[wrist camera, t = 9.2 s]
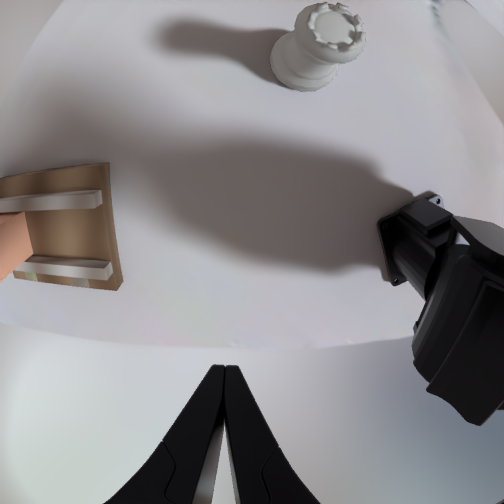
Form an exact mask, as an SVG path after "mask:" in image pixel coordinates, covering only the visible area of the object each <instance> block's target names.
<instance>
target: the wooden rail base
mask: <svg viewBox="0 0 504 504" xmlns="http://www.w3.org/2000/svg"><path fill="white" fill-rule="evenodd" d="M19 211H24V212H25V217H26V222H27V227H28V232H29V237H30V241H31V245H32V249H33V253H34V254H33V255H31V256H30V257H29V258H28V259H26V260H25V261H24V262H23V263H22V264H20V265H19V266H18V267H17V268H16V269H15V270H14V271H13V274H14V277H15V278H18V279H24V280H31V281H38V282H45V283H52V284H60V285H68V286H76V287H85V288H94V289H104V290H114V291H117V290H118V288H119V287H120V285H121V284H122V282H123V277H122V272H121V266H120V261H119V255H118V248H117V242H116V235H115V227H114V219H113V210H112V200H111V189H110V175H109V163H100V164H90V165H80V166H71V167H63V168H55V169H48V170H41V171H35V172H29V173H23V174H18V175H12V176H7V177H3V178H0V215H1V214H3V213H4V212H19Z"/></svg>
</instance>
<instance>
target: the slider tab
mask: <svg viewBox="0 0 504 504" xmlns="http://www.w3.org/2000/svg"><path fill="white" fill-rule="evenodd" d="M33 254H34V253H33V249H32V245H31V241H30V237H29V232H28V227H27V222H26V217H25V212H24V211H19V212H4V213H3V214H1V215H0V282H1V281H2V280H3V279H4V278H6V277H7V276H8V275H9V274H10V273H11V272H12V271H14V270H15V269H16V268H17V267H18V266H19V265H20V264H22V263H23V262H24V261H25V260H26V259H28V258H29V257H30V256H31V255H33Z"/></svg>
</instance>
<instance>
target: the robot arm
mask: <svg viewBox="0 0 504 504" xmlns="http://www.w3.org/2000/svg"><path fill="white" fill-rule="evenodd" d="M437 199H438V201H437V203H436V200H437ZM384 223H385V226H384V227H382V225H383V224H384ZM377 228H378V232H379V236H380V240H381V244H382V248H383V252H384V257H385V261H386V266H387V270H388V275H389V280H390V283H391V284H392V285H393V286H398V285H400V284H402V283H404V282H406V281H409V282H410V284H411V285H412V286H413V287H414V288H415V290H416V291H417V292H418V293H419V294H420V296H421V297H422V298H423V299H424V301H425V302H426V303H425V305H424V307H423V310H422V312H421V314H420V317H419V319H418V321H416V323H415V325H414V327H413V329H414V337H413V342H412V350H413V355H414V358H415V359H414V360H413V364H414V366H415V367H416V369H417V371H418V372H419V373H420V375H421V376H422V377H423V378H424V379H425V380H426V381H427V382H429V383H430V384H429V385H428V387H427V388H426V391H427V392H429V393H431V394H433V395H436V396H438V397H440V398H442V399H443V400H445V401H446V402H448V403H450V404H451V405H452V406H453V407H454V408H455V409H456V410H457V411H458V413H460V415H461V416H462V417H463V418H464V419H465V420H466V421H467V422H469V423H472V424H475V425H477V426H481V425H482V424H483V423H485V422H486V420H487V419H488V418H489V417H490V416H491V415H492V414H493V413H494V412H495V411H496V410H504V229H503V228H501V227H500V226H498V225H496V224H494V223H491V222H486V221H481V220H476V219H471V218H465V217H460V216H454V215H453V214H452V213H450V212H448V211H447V210H445V209H444V205H443V199H442V197H441V196H439V195H437V194H435V195H433V196H431V197H428V198H426V199H425V198H422V199H420V200H418V201H415V202H413V203H411V204H409V205H407V206H404V207H402V208H400V210H399V211H398V212H395V213H393V214H391V215H389V216H386V217H384V218H382V219H380V220H379V221H378V223H377ZM395 279H397V280H396V281H395ZM224 425H225V430H226V438H227V446H228V454H229V460H230V468H231V475H232V482H233V488H234V495H235V500H236V504H320V502H319V501H318V500H317V499H316V498H315V497H314V496H313V494H312V493H311V492H310V491H309V489H308V488H307V487H306V486H305V485H304V484H303V482H302V481H301V480H300V478H299V477H298V476H297V474H296V473H295V471H294V470H293V469H292V467H291V465H290V464H289V462H288V461H287V459H286V458H285V456H284V454H283V452H282V450H281V448H280V447H279V445H278V443H277V441H276V439H275V437H274V436H273V434H272V432H271V430H270V428H269V426H268V424H267V422H266V420H265V418H264V416H263V415H262V413H261V411H260V409H259V407H258V405H257V403H256V401H255V399H254V397H253V395H252V393H251V391H250V389H249V387H248V384H247V382H246V380H245V378H244V377H243V374H242V372H241V370H240V368H239V366H237V365H227V366H226V367H225V366H224V365H216V364H214V365H212V366H211V367H210V369H209V371H208V372H207V374H206V375H205V377H204V378H203V380H202V381H201V383H200V384H199V386H198V387H197V389H196V390H195V392H194V394H193V395H192V396H191V398H190V399H189V401H188V402H187V404H186V405H185V407H184V408H183V410H182V411H181V413H180V414H179V416H178V417H177V419H176V420H175V422H174V423H173V425H172V426H171V428H170V429H169V431H168V432H167V434H166V435H165V436H164V438H163V439H162V440H163V441H161V442H160V444H159V445H158V446H157V448H156V449H155V451H154V452H153V453H152V455H151V456H150V457H149V459H148V460H147V461H146V462H145V463H144V465H143V466H142V467H141V468H140V469H139V470H138V471H137V472H136V473H135V474H134V476H132V478H131V479H130V480H129V481H128V482H127V483H126V484H125V485H124V486H123V487H122V488H121V489H120V490H119V491H118V492H117V493H116V494H114V496H112V497H111V498H110V499H109V500H108V501H106V502H105V503H103V504H211V503H212V497H213V491H214V485H215V480H216V474H217V468H218V462H219V456H220V450H221V444H222V438H223V431H224ZM497 504H504V499H503V500H502V501H500V502H498V503H497Z"/></svg>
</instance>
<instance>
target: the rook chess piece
mask: <svg viewBox="0 0 504 504" xmlns="http://www.w3.org/2000/svg"><path fill="white" fill-rule="evenodd" d="M347 9H348V7H347V6H345V5H342V4H340V3H337V4H336V5H333V4H327V2H325V3H317V4H314V5H311V6H308V7H306V8H304V9H303V10H302V11H301V12H300V13H299V14H298V15H297V19H296V22H295V25H294V27H295V30H294V31H291V32H289V33H286V34H284V35H282V36H281V37H280V39H279V40H278V41H277V42H276V43H275V45H274V46H273V47H272V51H271V54H270V57H269V58H270V64H271V69H272V71H273V72H274V74H275V75H276V77H277V79H278V80H279V81H281V82H282V83H283V84H285V85H286V86H287V87H289V88H292V89H295V90H298V91H301V92H306V91H316V90H318V89H321V88H323V87H325V86H327V84H329V83H330V82H331V81H332V80H333V78H334V77H335V76H336V75H337V71H338V68H339V64H345V63H347V62H350V61H352V60H355V59H356V58H357V57H358V56H359V55H360V54H361V53H362V52H363V50H364V46H365V41H366V39H365V35H366V33H365V32H364V30H363V28H362V26H361V25H362V24H364V23H363V21H362V20H361V18H360V17H359V15H358V14H357V15H355V16H353V15H352V14H351V13H349V12H348V11H347Z"/></svg>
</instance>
